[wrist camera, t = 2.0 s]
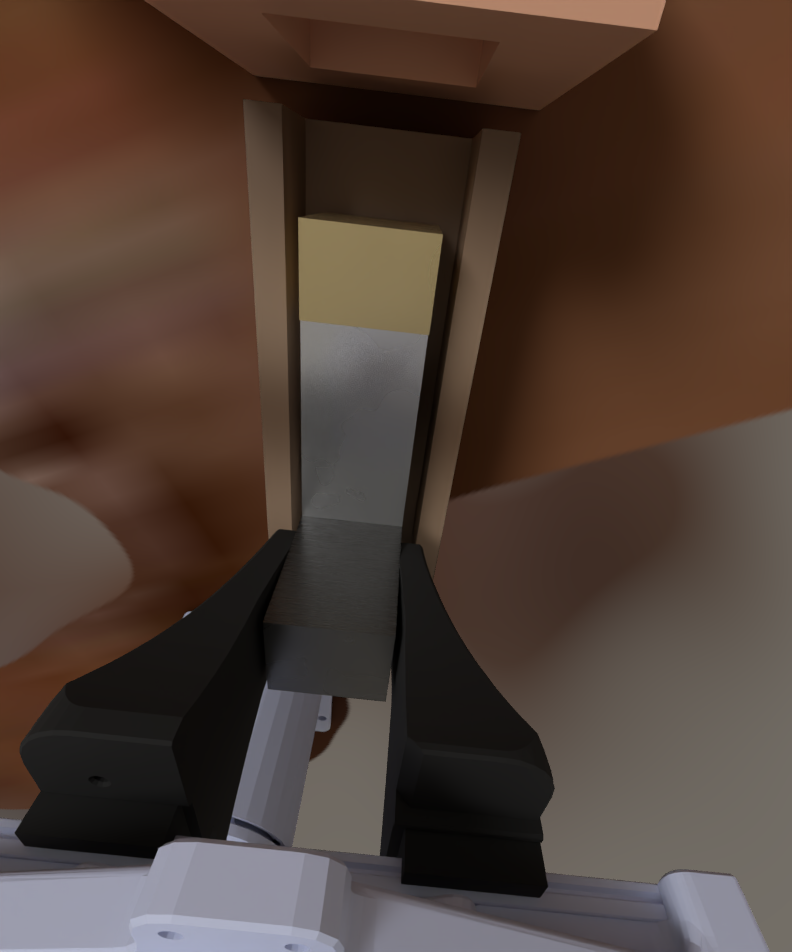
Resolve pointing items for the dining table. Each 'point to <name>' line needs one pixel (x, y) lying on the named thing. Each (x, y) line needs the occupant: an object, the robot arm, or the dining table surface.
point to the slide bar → (352, 450)
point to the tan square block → (424, 42)
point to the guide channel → (388, 197)
